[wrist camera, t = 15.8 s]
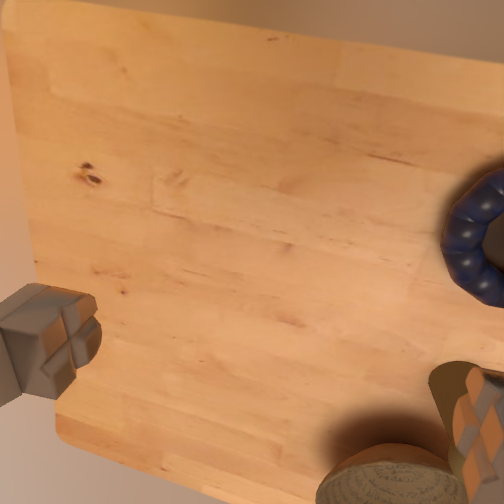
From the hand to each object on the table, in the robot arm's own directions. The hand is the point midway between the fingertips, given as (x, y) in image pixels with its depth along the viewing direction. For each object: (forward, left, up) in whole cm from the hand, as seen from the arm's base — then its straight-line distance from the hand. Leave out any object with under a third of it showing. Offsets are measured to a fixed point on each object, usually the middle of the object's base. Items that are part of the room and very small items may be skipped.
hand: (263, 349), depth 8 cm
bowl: (+40, -8, -29) cm, 50 cm away
